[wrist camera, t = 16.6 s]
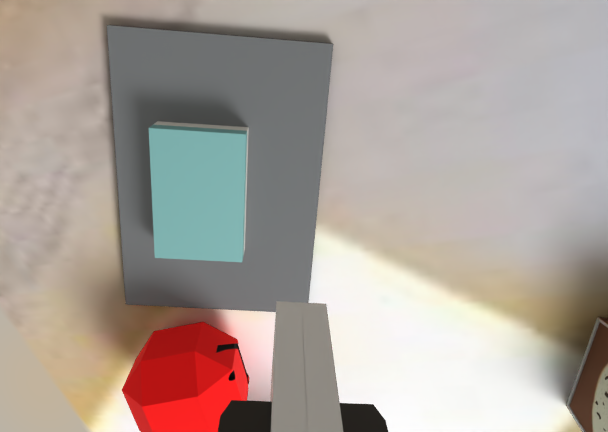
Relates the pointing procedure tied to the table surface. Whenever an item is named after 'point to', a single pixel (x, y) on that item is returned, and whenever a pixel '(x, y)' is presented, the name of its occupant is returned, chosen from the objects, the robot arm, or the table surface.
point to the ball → (185, 379)
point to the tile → (198, 190)
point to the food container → (592, 383)
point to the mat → (260, 167)
